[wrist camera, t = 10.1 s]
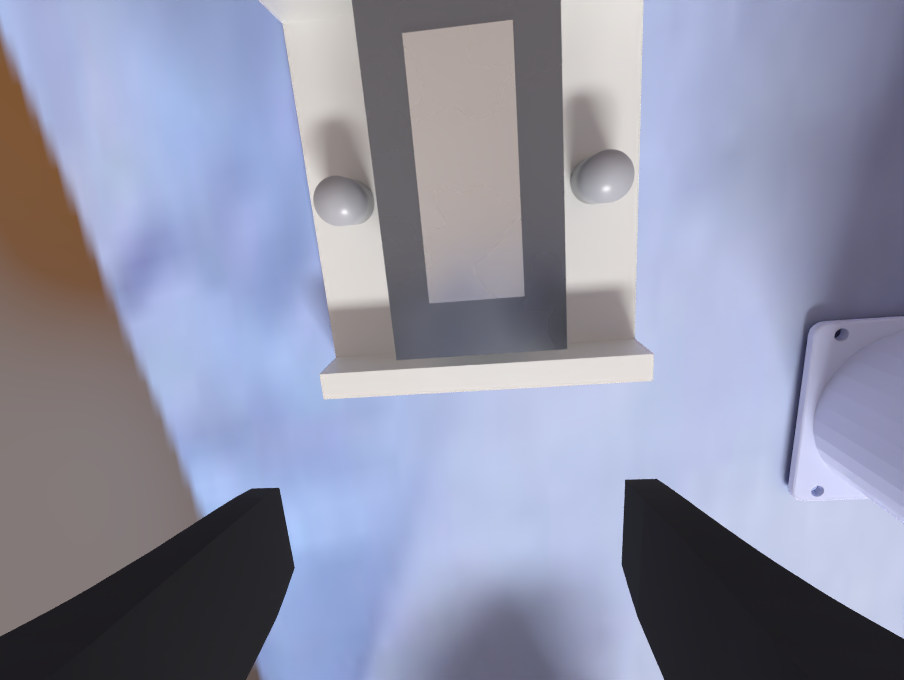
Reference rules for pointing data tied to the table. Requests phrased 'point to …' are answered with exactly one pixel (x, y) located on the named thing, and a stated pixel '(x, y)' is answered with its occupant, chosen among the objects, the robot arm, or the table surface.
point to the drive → (468, 171)
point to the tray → (585, 192)
